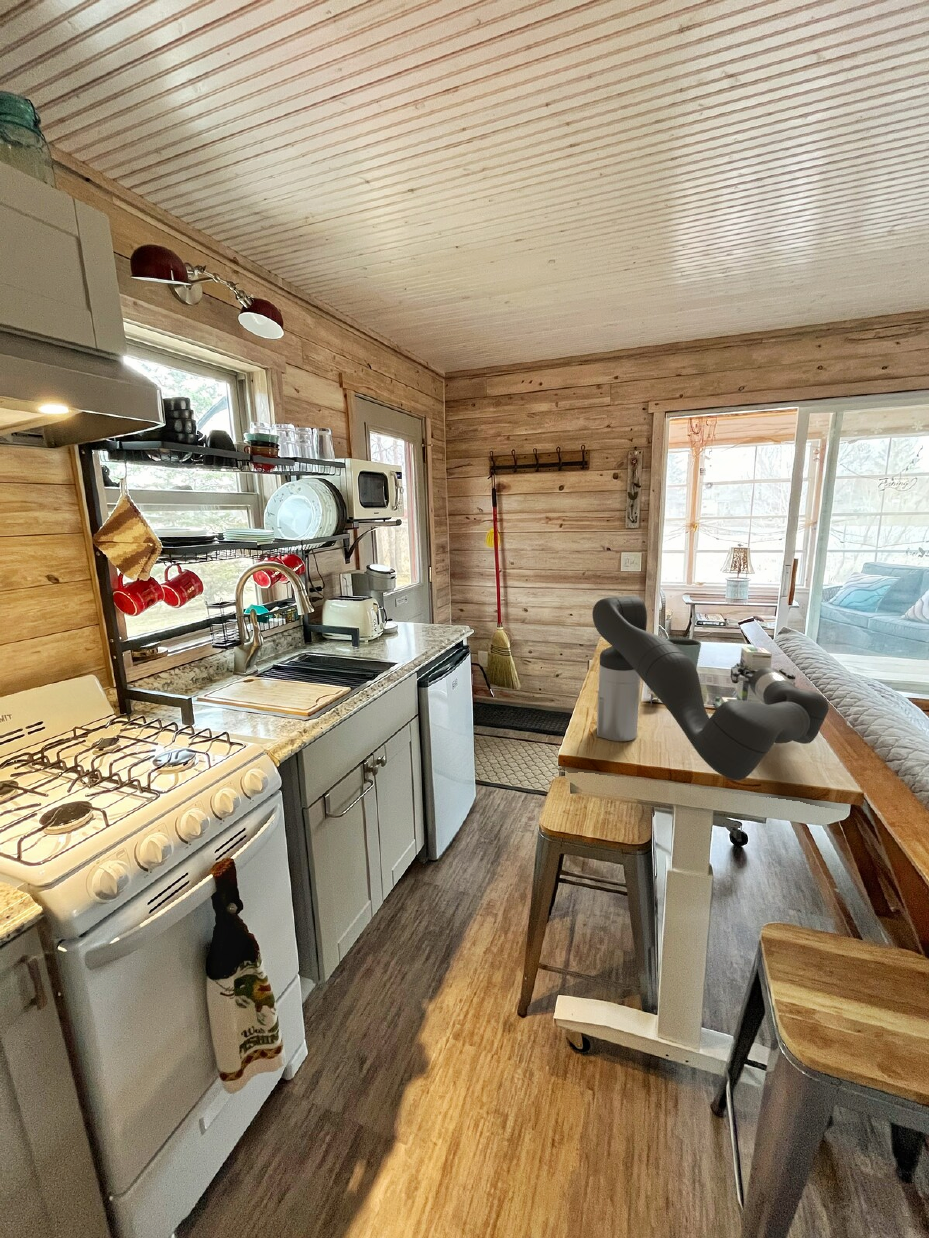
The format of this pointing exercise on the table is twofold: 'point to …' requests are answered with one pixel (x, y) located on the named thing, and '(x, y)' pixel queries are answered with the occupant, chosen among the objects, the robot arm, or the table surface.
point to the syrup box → (756, 661)
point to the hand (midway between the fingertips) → (751, 667)
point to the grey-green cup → (688, 648)
